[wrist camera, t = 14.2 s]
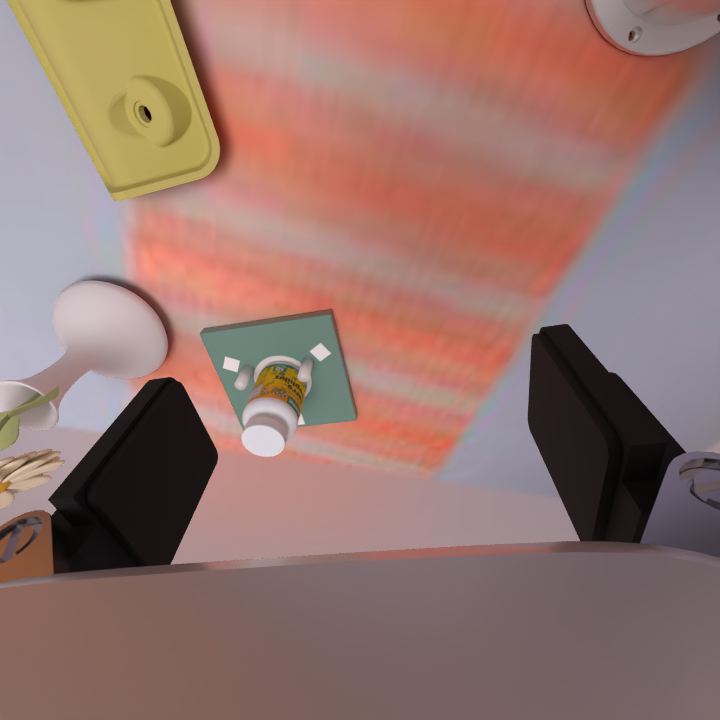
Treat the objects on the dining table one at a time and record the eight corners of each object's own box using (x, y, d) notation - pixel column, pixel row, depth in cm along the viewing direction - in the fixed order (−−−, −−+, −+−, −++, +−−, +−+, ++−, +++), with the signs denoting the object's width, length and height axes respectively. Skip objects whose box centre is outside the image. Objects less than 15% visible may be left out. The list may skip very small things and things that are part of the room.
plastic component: (229, 170, 32) (99, 206, 30) (218, 161, 38) (108, 190, 35) (84, -246, 20) (-150, -240, 18) (100, -168, 26) (-76, -155, 24)
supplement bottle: (250, 379, 44) (221, 440, 36) (279, 350, 42) (255, 409, 34) (288, 406, 46) (268, 470, 38) (318, 380, 44) (304, 442, 36)
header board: (331, 309, 41) (326, 328, 37) (357, 413, 48) (355, 438, 44) (203, 328, 42) (187, 348, 39) (247, 426, 50) (237, 450, 46)
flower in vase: (115, 380, 47) (-102, 604, 26) (41, 296, 41) (-311, 495, 20) (208, 347, 44) (47, 571, 23) (141, 251, 38) (-152, 432, 17)
